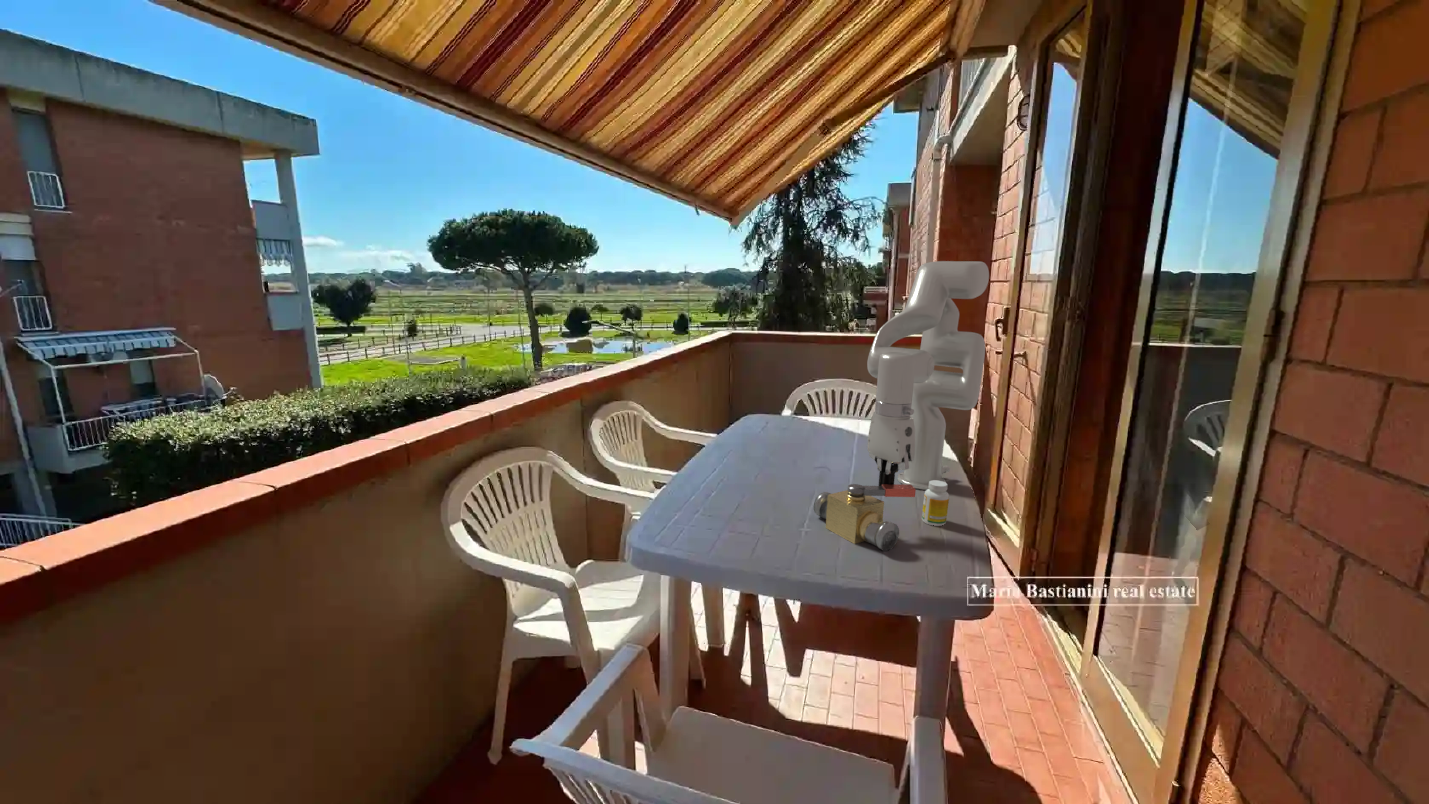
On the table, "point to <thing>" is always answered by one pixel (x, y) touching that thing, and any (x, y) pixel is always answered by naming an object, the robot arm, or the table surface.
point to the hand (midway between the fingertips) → (885, 488)
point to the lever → (882, 490)
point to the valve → (856, 519)
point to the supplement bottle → (935, 503)
